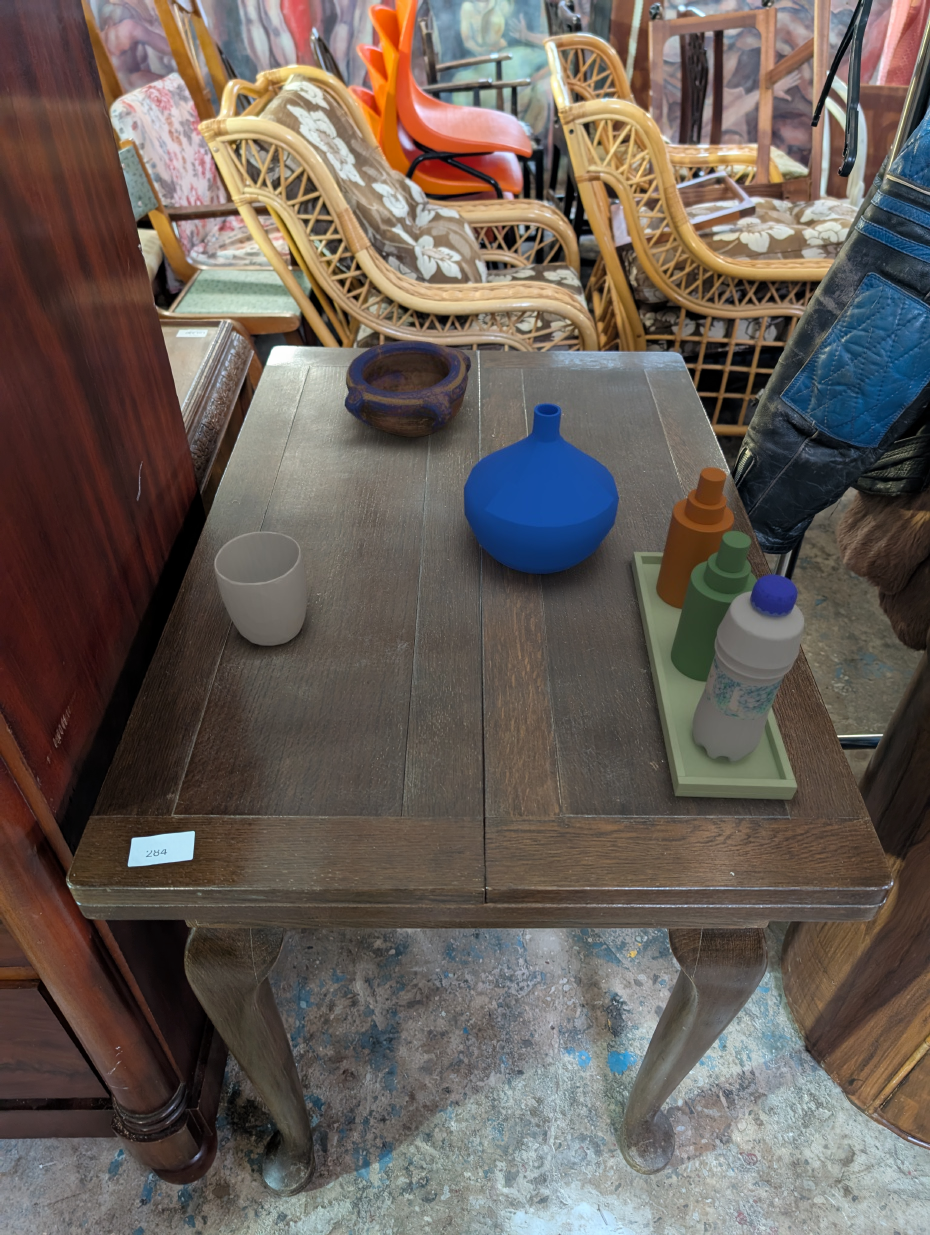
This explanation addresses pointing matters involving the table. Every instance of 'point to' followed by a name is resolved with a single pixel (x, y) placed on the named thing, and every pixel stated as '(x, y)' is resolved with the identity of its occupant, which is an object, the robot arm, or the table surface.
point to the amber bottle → (693, 535)
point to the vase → (540, 500)
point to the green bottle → (710, 604)
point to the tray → (677, 703)
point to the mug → (263, 586)
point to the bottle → (748, 667)
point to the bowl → (407, 386)
